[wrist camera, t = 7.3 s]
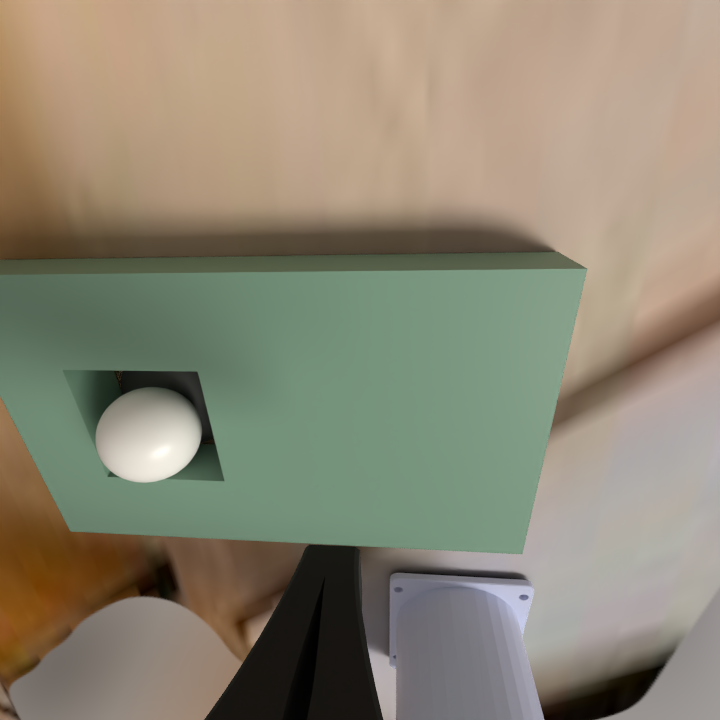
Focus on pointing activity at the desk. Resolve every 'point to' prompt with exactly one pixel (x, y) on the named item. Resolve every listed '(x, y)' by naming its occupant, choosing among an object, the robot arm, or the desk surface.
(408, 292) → the putting board
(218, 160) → the desk surface
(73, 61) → the desk surface
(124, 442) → the ball
